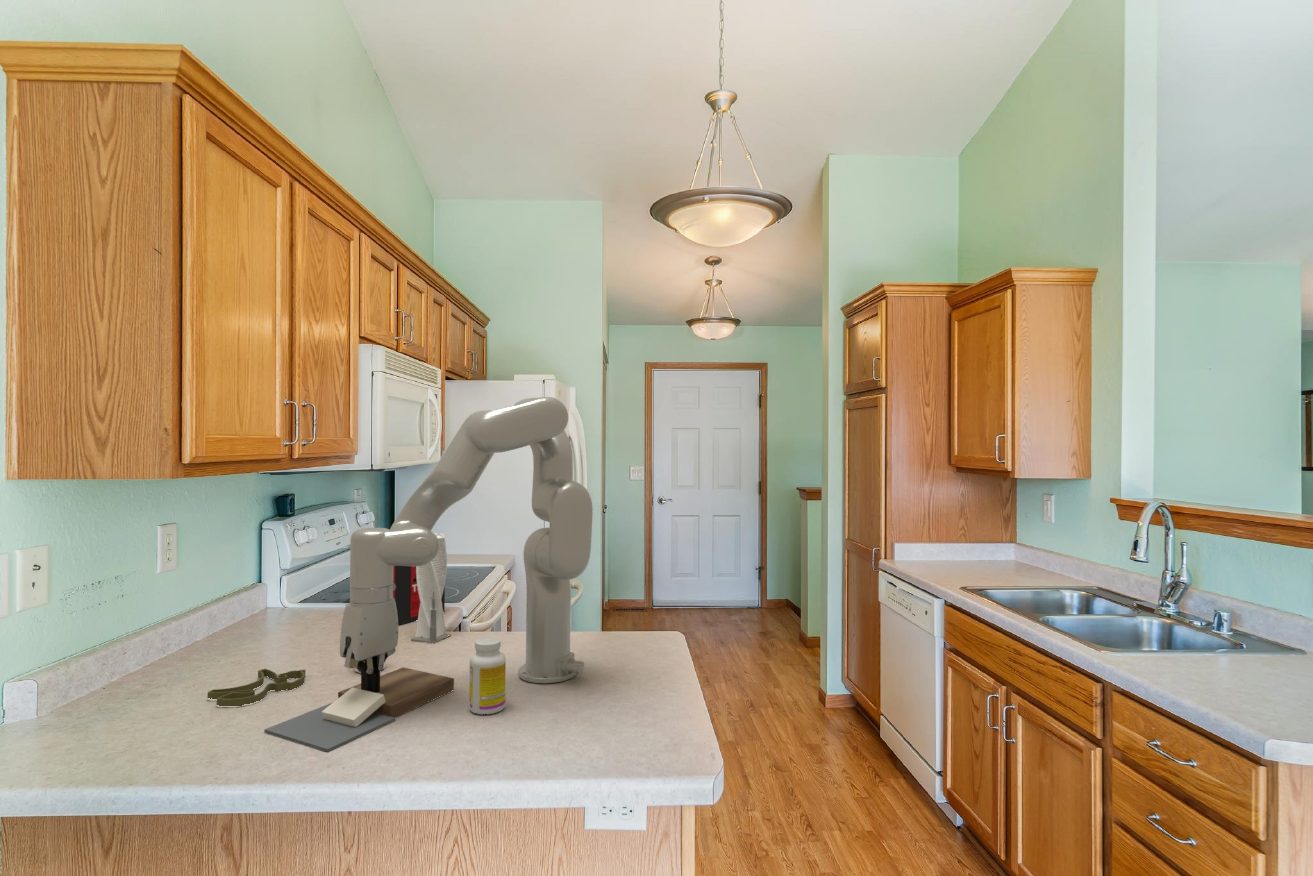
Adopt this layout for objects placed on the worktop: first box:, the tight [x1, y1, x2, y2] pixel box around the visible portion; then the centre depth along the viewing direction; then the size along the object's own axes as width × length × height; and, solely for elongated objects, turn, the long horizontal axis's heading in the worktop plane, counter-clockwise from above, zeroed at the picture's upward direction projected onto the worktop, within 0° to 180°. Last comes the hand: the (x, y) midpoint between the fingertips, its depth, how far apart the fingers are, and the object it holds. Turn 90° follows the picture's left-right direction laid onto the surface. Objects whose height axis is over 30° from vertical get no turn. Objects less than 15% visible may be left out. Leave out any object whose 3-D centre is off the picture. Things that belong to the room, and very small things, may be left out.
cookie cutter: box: [207, 668, 306, 706], centre depth 137 cm, size 18×12×2 cm, turn 166°
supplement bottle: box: [468, 637, 507, 715], centre depth 130 cm, size 7×7×13 cm
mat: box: [263, 702, 396, 753], centre depth 121 cm, size 16×14×1 cm
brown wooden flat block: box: [337, 667, 455, 719], centre depth 135 cm, size 14×16×2 cm
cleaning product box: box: [393, 566, 446, 627], centre depth 194 cm, size 16×9×20 cm, turn 149°
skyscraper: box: [410, 532, 452, 645], centre depth 175 cm, size 8×8×28 cm
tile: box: [322, 687, 386, 727], centre depth 124 cm, size 8×7×2 cm
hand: (370, 692), depth 129 cm, fingers closed
